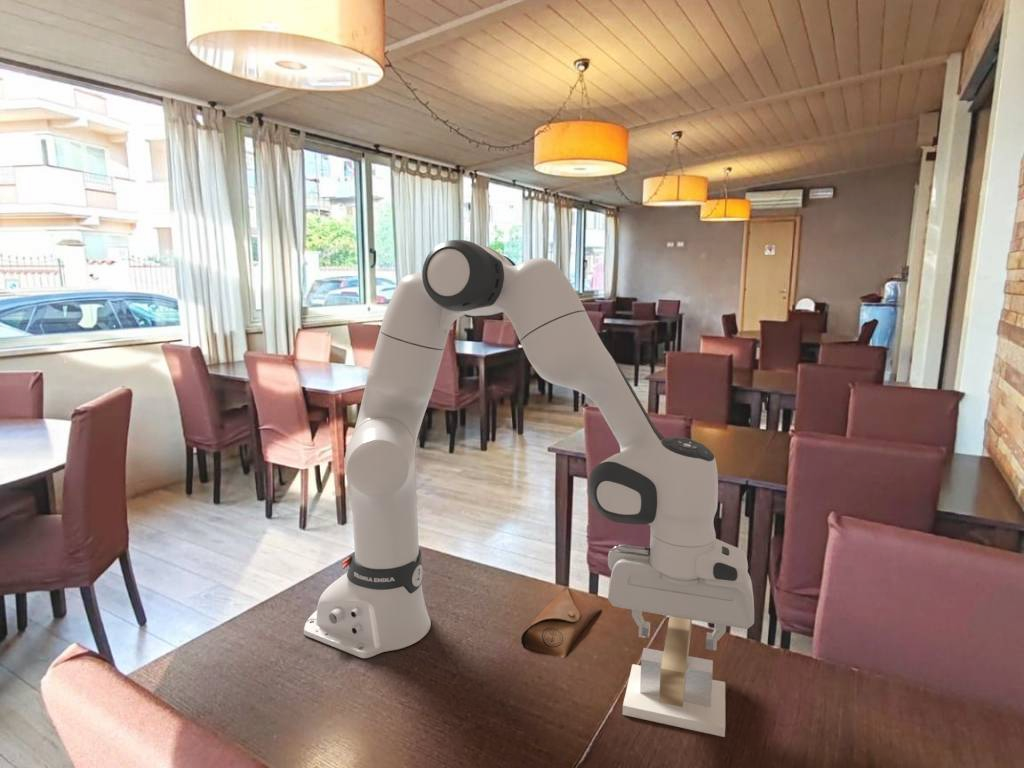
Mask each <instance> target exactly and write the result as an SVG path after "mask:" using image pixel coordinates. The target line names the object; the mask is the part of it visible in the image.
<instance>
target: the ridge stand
mask: <svg viewBox="0 0 1024 768" xmlns="http://www.w3.org/2000/svg"><path fill="white" fill-rule="evenodd" d="M663 652H664V650H658V649H652V648H647V647H643V650H642V654H641V658H640V665H639V664H635V663H633V664H632V663H631V668H630V669H631V670H630V674H629V677H628V678H629V679H628V681H627V686H626V691H625V695H624V699H623V702H622V715H623V716H627V717H632V718H637V719H641V720H646V721H650V722H655V723H659V724H664V725H668V726H673V727H678V728H682V729H686V730H690V731H695V732H699V733H704V734H709V735H714V736H717V737H723V738H725V737H726V681H721V680H715V679H713V671H714V666H713V665H714V660H712V659H706V658H701V657H696V656H689V655H688V662H687V672H686V681H685V690H684V699H683V707H679V706H674V705H670V704H665V703H660V702H659V696H660V671H661V663H662V658H663Z"/></svg>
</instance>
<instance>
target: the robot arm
mask: <svg viewBox="0 0 1024 768" xmlns="http://www.w3.org/2000/svg"><path fill="white" fill-rule="evenodd" d="M421 270H422V272H421V273H420V272H417V273H411V274H408V275H405V276H404V277H402V278H401V279H400V281H399V282H398V283H397V285H396V287H395V289H394V292H393V293H392V296H391V298H390V299H389V303H388V305H387V307H386V310H385V312H384V316H383V319H382V322H381V325H380V328H379V333H378V335H377V339H376V344H375V347H374V351H373V355H372V359H371V362H370V365H369V369H368V373H367V377H366V383H365V386H364V391H363V394H362V398H361V403H360V406H359V411H358V415H357V418H356V422H355V426H354V429H353V433H352V435H351V437H350V441H349V443H348V445H347V447H346V451H345V456H344V462H345V463H344V465H345V472H346V473H345V474H346V483H347V490H348V498H349V502H350V508H351V513H352V525H353V526H352V527H353V543H354V545H353V546H354V552H352V553H351V554H349V555H348V558H347V559H345V560H344V561H343V562H342V563H341V565H342V567H341V569H342V570H344V569H345V568H347V567H348V570H347V572H345V573H344V574H343V575H341V576H339V578H337V579H336V580H335V581H334V582H332V583H331V584H330V585H329V586H328V587H326V589H324V591H323V592H322V593H321V595H320V597H319V598H318V603H317V607H316V610H315V611H314V612H312V614H311V615H310V616H309V618H307V620H306V622H305V624H304V627H303V635H305V636H306V637H308V638H311V639H314V640H316V641H319V642H320V643H323V644H325V645H328V646H331V647H333V648H336V649H338V650H341V651H343V652H345V653H348V654H351V655H353V656H356V657H359V658H361V659H369V658H372V657H374V656H377V655H379V654H382V653H385V652H390V651H397V650H400V649H405V648H406V647H409V646H411V645H413V644H416V643H417V642H419V641H420V640H422V639H423V638H424V637H425V636H426V635H427V634H428V633H429V631H430V629H431V626H432V625H431V623H432V622H431V617H430V615H429V614H428V610H427V607H426V601H425V598H424V592H423V586H422V583H423V560H422V559H423V558H422V551H421V549H420V547H419V546H420V545H419V519H418V503H417V502H418V500H417V499H418V498H417V482H416V481H417V478H416V476H417V475H416V446H417V441H418V440H417V439H418V436H419V433H420V430H421V426H422V423H423V419H424V417H425V413H426V410H427V409H428V406H429V405H428V404H429V402H430V400H431V397H432V394H433V391H434V388H435V384H436V380H437V377H438V374H439V370H440V366H441V362H442V359H443V355H444V352H445V348H446V344H447V341H448V337H449V333H450V331H451V329H452V326H453V324H454V323H455V322H456V320H457V319H459V318H460V317H463V316H464V317H466V318H494V317H499V316H502V315H503V316H504V315H505V316H506V317H507V318H508V320H509V321H510V323H511V325H512V327H513V329H514V331H515V333H516V336H517V339H518V340H519V343H520V344H521V347H522V349H523V352H524V354H525V357H526V358H527V360H528V361H529V364H530V365H531V366H532V368H533V369H534V371H535V372H536V373H537V374H538V376H539V377H540V378H541V379H543V380H544V381H547V382H548V383H550V384H551V385H552V384H553V385H554V386H555V385H556V386H558V387H562V388H563V387H564V388H566V389H569V390H570V389H571V390H573V391H575V392H579V393H581V394H582V395H585V396H586V397H587V398H589V399H590V400H591V401H592V402H593V403H594V404H595V405H596V406H597V408H598V410H599V412H600V413H601V415H602V417H603V418H604V420H605V422H606V423H607V426H608V427H609V429H610V430H611V432H612V434H613V436H614V437H615V439H616V441H617V443H618V445H619V451H620V452H617V453H615V454H613V455H611V456H609V457H607V458H606V459H604V460H602V461H600V463H599V464H597V465H596V466H595V467H593V469H592V470H591V472H590V473H589V477H588V481H587V490H588V496H589V499H590V502H591V503H592V506H593V508H595V510H596V511H597V512H598V513H599V514H600V515H601V516H602V517H603V518H605V519H606V520H608V521H610V522H613V523H617V524H627V525H649V526H650V532H649V533H650V537H649V538H650V539H649V547H645V546H635V545H634V546H632V545H628V544H625V543H623V544H622V543H621V544H620V543H619V544H618V546H614V547H611V549H610V550H609V551H608V554H607V565H608V568H609V570H610V571H611V575H610V576H609V583H608V592H607V600H608V602H609V603H610V605H611V606H613V607H614V608H615V607H616V608H621V609H627V610H631V617H632V619H633V620H634V622H635V623H636V626H637V627H638V637H639V638H645V639H649V638H650V634H651V621H647V620H646V621H645V618H644V617H643V612H644V613H651V614H657V615H661V616H667V617H670V616H673V617H678V618H684V619H690V620H692V621H698V622H703V623H709V624H713V625H715V629H714V630H713V631H712V632H710V631H707V632H706V637H705V639H706V640H705V649H706V650H710V651H716V652H717V650H718V649H717V645H718V641H720V639H721V638H722V637H723V636H724V634H725V633H727V627H732V628H738V629H743V630H748V629H750V627H752V626H753V625H754V624H755V603H754V602H755V601H754V591H753V583H752V579H751V576H750V573H749V572H748V570H749V564H748V559H747V555H746V552H745V551H744V550H743V549H742V548H739V547H737V546H734V545H732V544H730V543H727V542H724V541H723V540H720V539H718V538H716V530H715V526H714V525H715V524H714V518H715V515H716V513H717V510H718V503H719V502H718V499H719V498H718V497H719V477H718V476H719V475H718V466H717V460H716V458H715V455H714V454H713V452H712V451H711V449H709V448H708V447H706V445H705V444H703V443H702V442H699V441H696V440H694V439H691V438H687V437H678V436H677V437H676V436H672V437H664V436H663V435H662V434H661V432H660V431H659V430H658V429H657V428H656V426H655V425H654V423H653V422H652V420H651V418H650V417H649V415H648V413H647V412H646V409H645V408H644V406H643V405H642V403H641V400H640V399H639V397H638V395H637V394H636V392H635V391H634V388H633V387H632V385H631V383H630V382H629V380H628V378H627V376H626V374H624V372H623V370H622V369H621V367H620V366H619V364H618V363H617V362H616V360H615V359H614V358H613V356H612V355H611V354H610V352H609V351H608V349H607V348H606V346H605V345H604V342H602V339H601V338H600V336H599V334H598V331H596V328H595V327H594V325H593V323H592V321H591V319H590V317H589V315H588V313H587V311H586V308H585V306H584V305H583V303H582V301H581V299H580V297H579V295H578V293H577V292H576V290H575V289H574V287H573V285H572V283H571V282H570V280H569V279H568V277H567V276H566V275H565V274H564V272H563V271H562V269H561V268H560V267H559V266H558V264H557V263H555V261H553V260H551V259H548V258H544V257H535V258H529V259H527V260H524V261H522V262H520V263H518V264H516V263H515V262H514V261H513V260H512V259H511V258H509V257H507V256H506V255H503V254H502V253H500V252H498V251H497V250H495V249H493V248H491V247H489V246H486V245H479V244H476V243H474V242H473V241H470V240H463V239H452V240H451V239H450V240H446V241H444V242H441V243H439V244H438V245H436V246H435V247H434V248H432V249H431V250H430V251H429V253H428V255H426V258H425V259H424V262H423V265H422V269H421Z"/></svg>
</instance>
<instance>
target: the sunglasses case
mask: <svg viewBox="0 0 1024 768" xmlns="http://www.w3.org/2000/svg"><path fill="white" fill-rule="evenodd" d="M601 611H602V608H601V607H600V608H599V607H596V605H593V604H592V603H591V602H589V601H588V600H586V599H585V598H583V597H582V596H581V595H579V594H578V593H576V592H575V591H574V590H572V589H571V588H569V585H566V586H564V587H563V590H561V591H560V592H559V593H557V595H556V596H555V597H554V598H553V599H552V600H551V601H550V602H549V603H548V604H547V605H546V606H545V607H544V609H543V610H542V611H540V613H539V614H538V615H537V616H536V617H535V618H534V619H533V621H532V622H531V623H530V625H528V626H527V628H526V629H525V630H524V631H523V633H522V634H521V637H520V638H521V639H520V641H521V645H522V646H523V648H527V649H530V650H534V651H537V652H541V653H543V654H548V655H550V656H551V655H552V656H556V657H560V658H562V659H565V658H566V657H567V656H568V653H569V652H570V649H571V648H572V646H573V645H574V643H575V641H577V639H578V638H579V636H580V635H581V634H582V632H583V631H584V629H586V627H588V625H589V623H591V621H592V620H593V619H594V618H596V616H597V615H599V613H601Z"/></svg>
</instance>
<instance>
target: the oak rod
mask: <svg viewBox="0 0 1024 768" xmlns="http://www.w3.org/2000/svg"><path fill="white" fill-rule="evenodd" d="M668 617H669V618H668V623H667V630H666V634H665V643H664V647H663V651H664V652H663V658H662V663H661V671H660V696H659V702H660V703H665V704H670V705H674V706H679V707H683V699H684V690H685V681H686V672H687V662H688V656H689V651H690V650H689V649H690V643H691V633H692V621H693V620H690V619H684V618H678V617H673V616H668Z"/></svg>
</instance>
